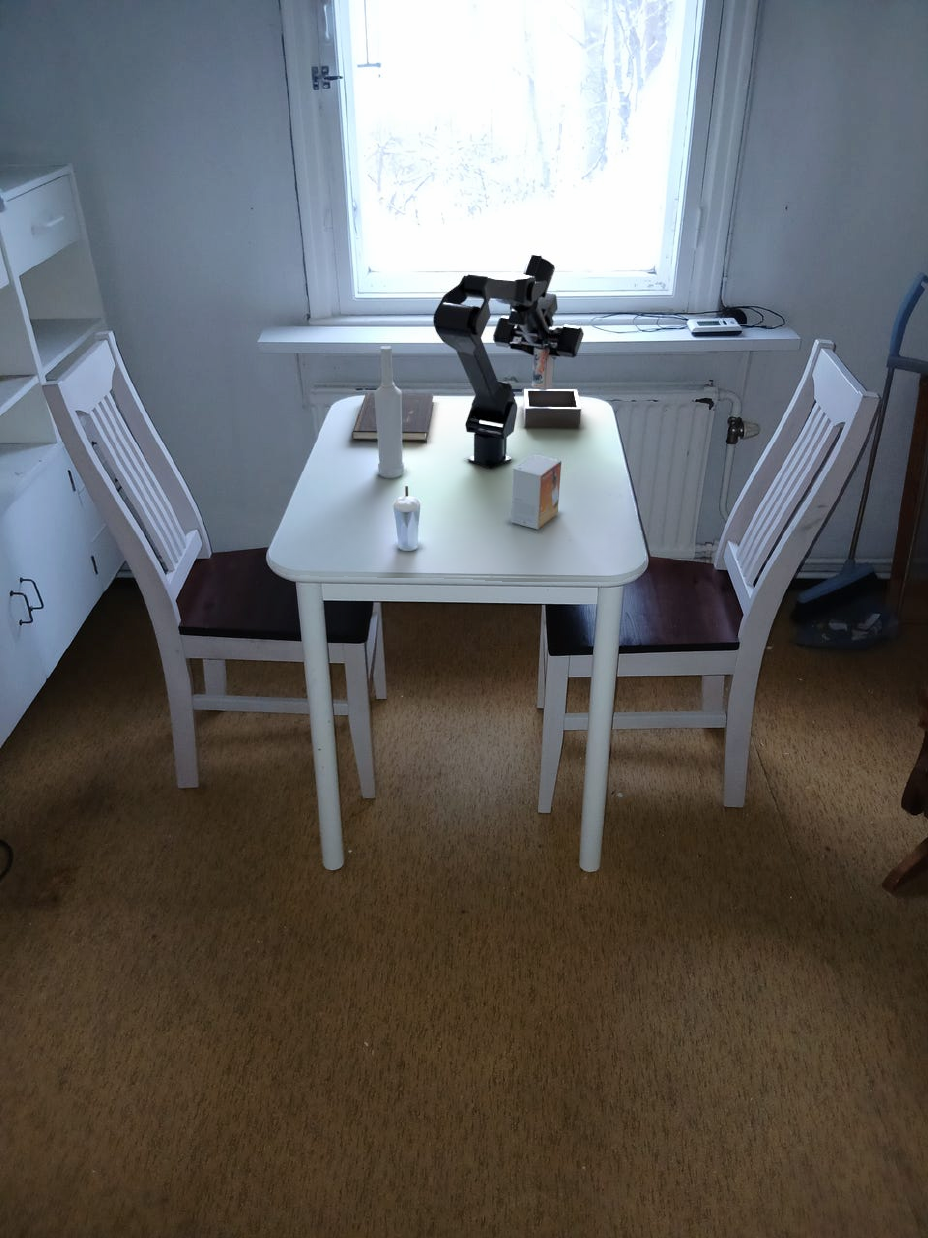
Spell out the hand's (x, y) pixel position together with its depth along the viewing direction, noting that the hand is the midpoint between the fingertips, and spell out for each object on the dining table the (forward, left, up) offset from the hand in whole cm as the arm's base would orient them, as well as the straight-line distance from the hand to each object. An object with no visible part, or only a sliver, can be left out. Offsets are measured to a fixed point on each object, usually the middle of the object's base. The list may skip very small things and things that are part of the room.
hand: (546, 356), depth 201 cm
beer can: (-1, 0, -7) cm, 7 cm away
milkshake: (-64, -23, -13) cm, 69 cm away
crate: (-1, -3, -13) cm, 14 cm away
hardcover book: (-27, +21, -13) cm, 36 cm away
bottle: (-46, +1, -13) cm, 48 cm away
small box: (-41, -32, -13) cm, 53 cm away
